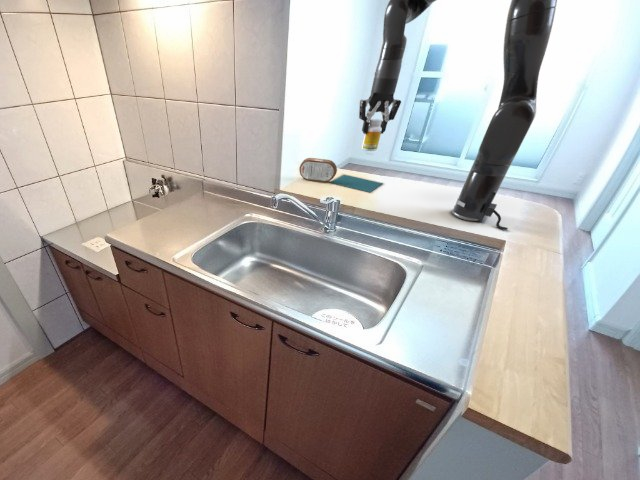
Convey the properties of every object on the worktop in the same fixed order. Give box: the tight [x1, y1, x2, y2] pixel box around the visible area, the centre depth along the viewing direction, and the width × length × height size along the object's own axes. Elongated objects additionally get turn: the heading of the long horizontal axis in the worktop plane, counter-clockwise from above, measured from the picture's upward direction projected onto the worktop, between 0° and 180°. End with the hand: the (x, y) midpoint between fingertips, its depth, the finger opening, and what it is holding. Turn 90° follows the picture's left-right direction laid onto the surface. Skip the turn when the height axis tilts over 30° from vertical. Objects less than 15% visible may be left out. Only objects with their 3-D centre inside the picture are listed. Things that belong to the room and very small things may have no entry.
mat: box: [329, 174, 384, 193], centre depth 132 cm, size 17×13×1 cm
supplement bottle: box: [361, 118, 383, 152], centre depth 116 cm, size 5×5×10 cm
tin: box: [298, 157, 338, 183], centre depth 132 cm, size 15×3×8 cm, turn 66°
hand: (372, 133), depth 116 cm, fingers closed on supplement bottle, 5 cm apart
